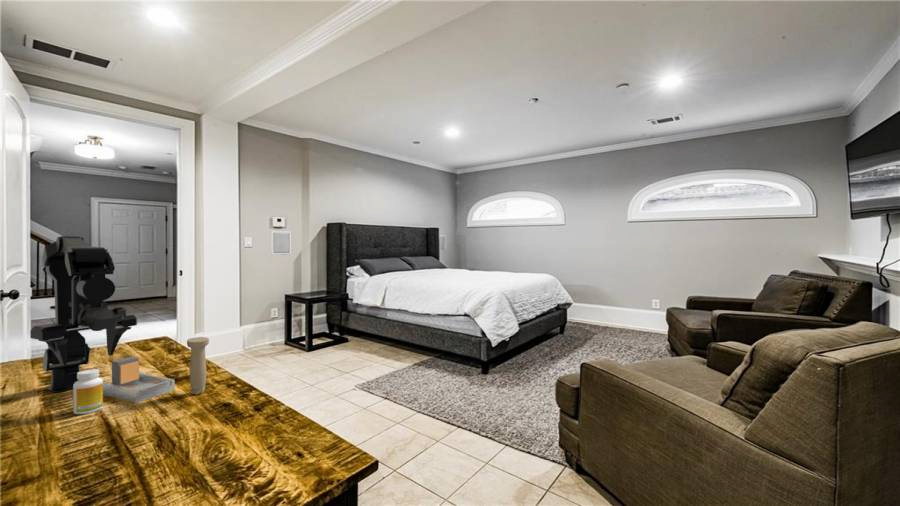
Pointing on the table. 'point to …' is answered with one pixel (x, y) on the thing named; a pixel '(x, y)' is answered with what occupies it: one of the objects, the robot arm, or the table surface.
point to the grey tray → (135, 382)
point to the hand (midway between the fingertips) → (88, 360)
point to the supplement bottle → (87, 392)
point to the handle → (197, 364)
